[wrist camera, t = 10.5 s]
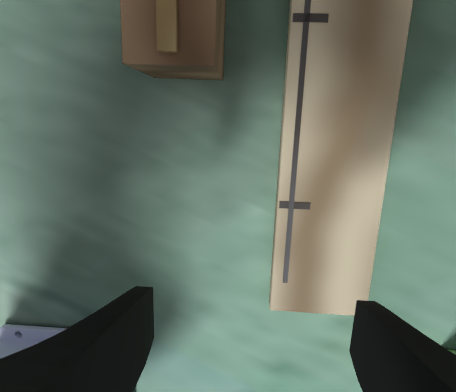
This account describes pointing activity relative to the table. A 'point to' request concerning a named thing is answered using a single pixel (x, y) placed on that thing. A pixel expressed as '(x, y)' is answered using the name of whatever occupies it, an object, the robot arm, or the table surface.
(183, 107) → the table surface
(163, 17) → the brown small block
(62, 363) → the robot arm
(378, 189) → the birch plank
